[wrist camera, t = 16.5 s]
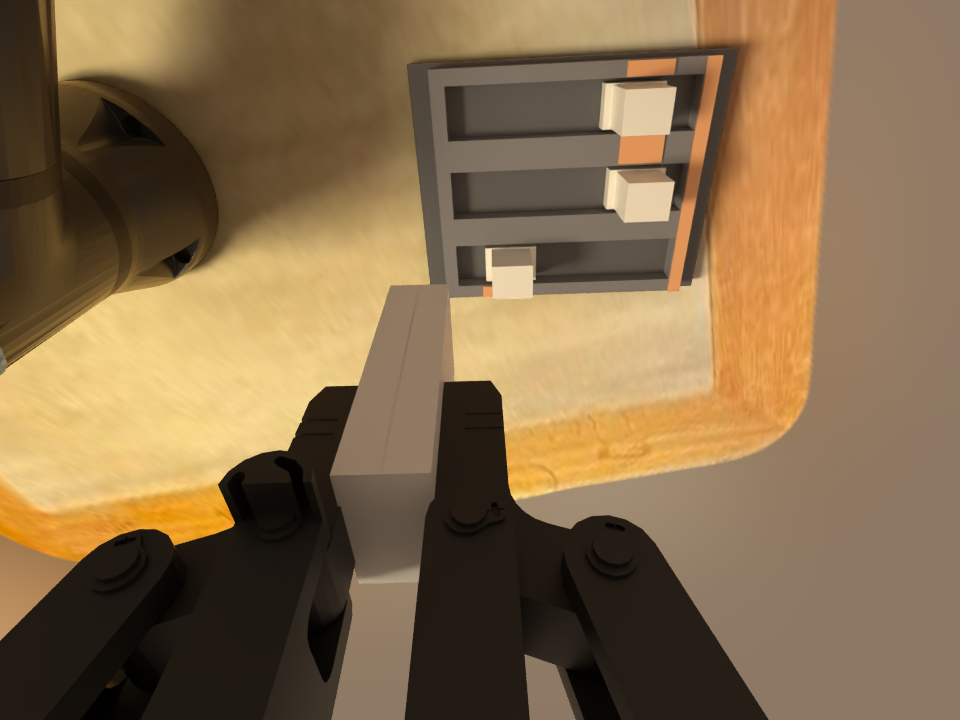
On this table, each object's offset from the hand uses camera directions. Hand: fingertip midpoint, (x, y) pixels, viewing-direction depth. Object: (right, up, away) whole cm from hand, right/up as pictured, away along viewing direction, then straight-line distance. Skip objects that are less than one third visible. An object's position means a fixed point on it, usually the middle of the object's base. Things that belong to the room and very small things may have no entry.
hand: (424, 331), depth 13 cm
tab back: (+4, +8, +27) cm, 29 cm away
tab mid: (+13, +12, +24) cm, 30 cm away
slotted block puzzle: (+8, +13, +25) cm, 30 cm away
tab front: (+12, +17, +21) cm, 30 cm away
